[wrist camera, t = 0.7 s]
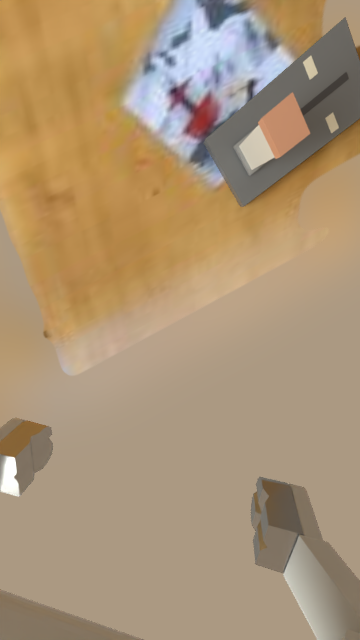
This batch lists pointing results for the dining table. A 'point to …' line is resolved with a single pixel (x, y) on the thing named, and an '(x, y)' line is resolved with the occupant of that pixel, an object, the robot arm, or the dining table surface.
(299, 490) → the robot arm
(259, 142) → the fader knob
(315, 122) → the fader console
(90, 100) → the dining table surface
